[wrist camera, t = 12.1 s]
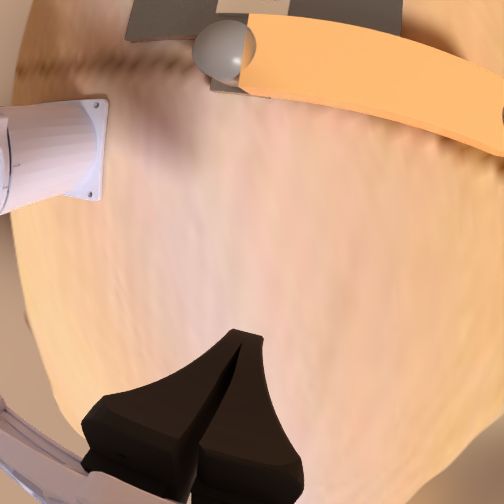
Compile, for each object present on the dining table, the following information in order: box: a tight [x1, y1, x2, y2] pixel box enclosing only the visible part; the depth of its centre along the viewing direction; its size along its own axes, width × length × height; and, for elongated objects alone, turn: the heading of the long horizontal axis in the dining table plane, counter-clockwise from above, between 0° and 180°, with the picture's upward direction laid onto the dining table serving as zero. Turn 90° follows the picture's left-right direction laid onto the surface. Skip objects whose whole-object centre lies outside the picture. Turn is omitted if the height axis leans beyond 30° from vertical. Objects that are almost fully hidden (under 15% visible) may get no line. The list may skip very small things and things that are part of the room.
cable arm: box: [192, 14, 504, 157], centre depth 13 cm, size 18×4×3 cm, turn 83°
